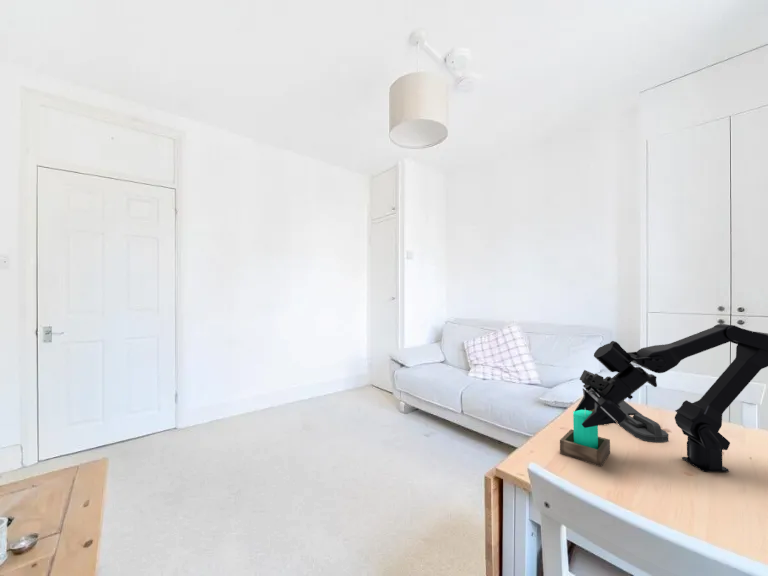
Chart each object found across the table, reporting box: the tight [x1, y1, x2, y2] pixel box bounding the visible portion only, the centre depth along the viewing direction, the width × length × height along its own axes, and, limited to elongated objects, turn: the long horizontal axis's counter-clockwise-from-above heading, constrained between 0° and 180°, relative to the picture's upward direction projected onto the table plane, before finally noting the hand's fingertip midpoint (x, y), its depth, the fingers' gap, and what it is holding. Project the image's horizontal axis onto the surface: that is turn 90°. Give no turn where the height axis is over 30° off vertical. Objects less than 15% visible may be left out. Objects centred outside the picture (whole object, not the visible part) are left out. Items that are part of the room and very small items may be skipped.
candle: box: [572, 410, 599, 450], centre depth 94 cm, size 6×6×12 cm
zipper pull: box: [617, 400, 669, 444], centre depth 112 cm, size 9×7×25 cm
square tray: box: [559, 428, 611, 467], centre depth 94 cm, size 10×10×4 cm
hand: (579, 419), depth 94 cm, fingers open, 9 cm apart
